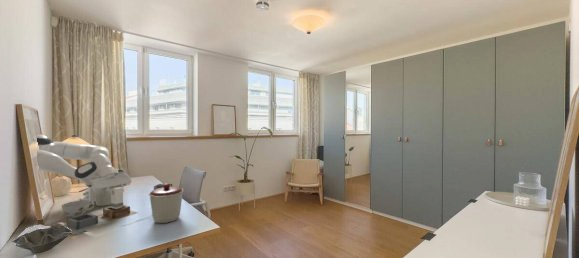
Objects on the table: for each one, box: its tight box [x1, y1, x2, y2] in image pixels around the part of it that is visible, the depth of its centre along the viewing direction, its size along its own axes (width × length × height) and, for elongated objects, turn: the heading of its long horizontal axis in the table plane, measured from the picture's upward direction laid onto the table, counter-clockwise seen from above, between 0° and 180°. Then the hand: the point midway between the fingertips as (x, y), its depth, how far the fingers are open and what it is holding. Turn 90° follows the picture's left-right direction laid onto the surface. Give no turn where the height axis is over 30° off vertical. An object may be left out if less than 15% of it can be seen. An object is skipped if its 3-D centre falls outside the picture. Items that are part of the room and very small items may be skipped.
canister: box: [148, 183, 185, 224], centre depth 138 cm, size 18×18×21 cm
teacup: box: [61, 199, 95, 218], centre depth 145 cm, size 15×12×8 cm
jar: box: [95, 189, 111, 207], centre depth 168 cm, size 13×13×18 cm
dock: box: [63, 212, 108, 236], centre depth 129 cm, size 18×15×5 cm
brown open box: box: [96, 204, 139, 222], centre depth 145 cm, size 18×15×5 cm
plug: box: [110, 187, 124, 209], centre depth 145 cm, size 5×4×12 cm
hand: (117, 193), depth 144 cm, fingers closed on plug, 4 cm apart
